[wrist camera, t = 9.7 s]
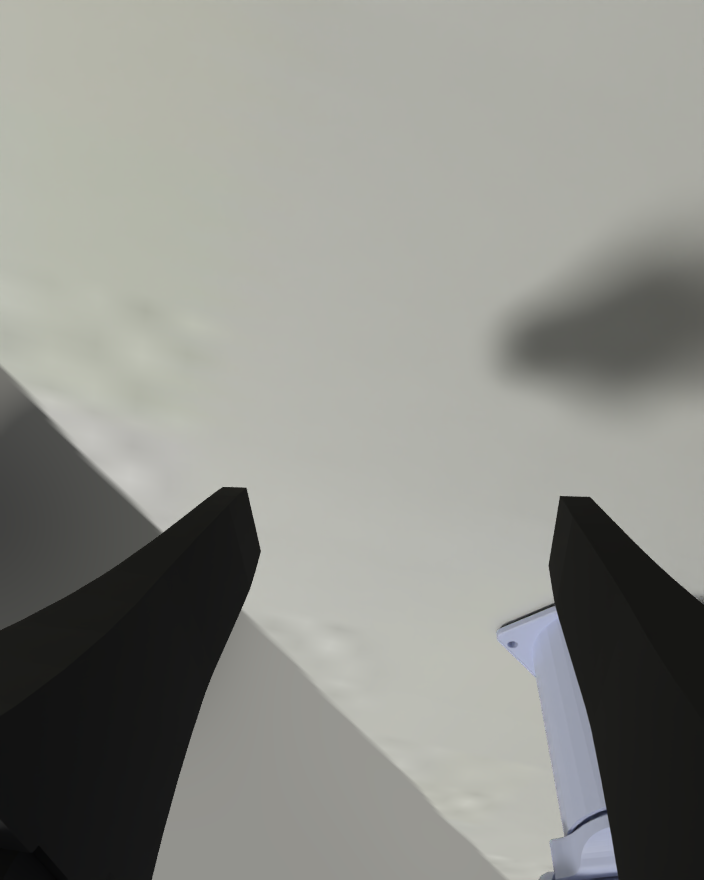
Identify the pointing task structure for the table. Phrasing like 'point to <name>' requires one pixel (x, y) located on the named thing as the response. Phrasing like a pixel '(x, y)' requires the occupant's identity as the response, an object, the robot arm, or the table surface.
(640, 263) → the table surface
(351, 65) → the table surface
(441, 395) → the table surface
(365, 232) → the table surface
